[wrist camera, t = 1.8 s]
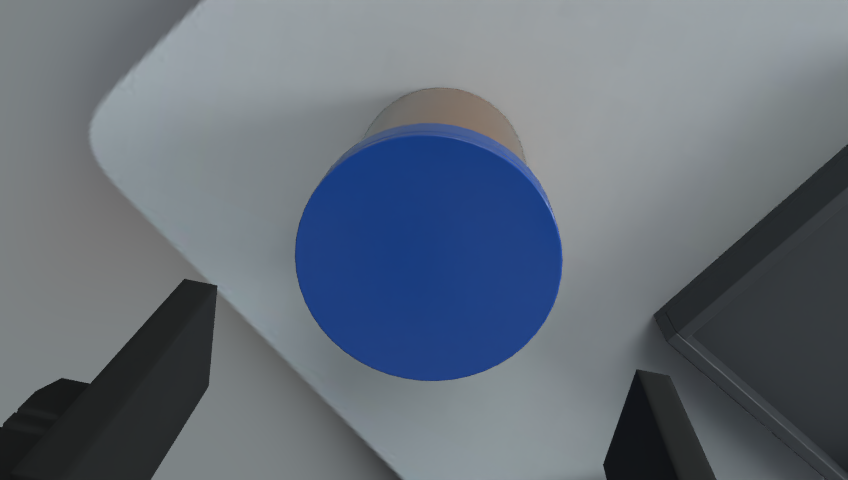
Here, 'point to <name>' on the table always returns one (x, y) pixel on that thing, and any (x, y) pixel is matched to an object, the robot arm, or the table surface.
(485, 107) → the jar
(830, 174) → the tray
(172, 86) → the table surface
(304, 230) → the lid
